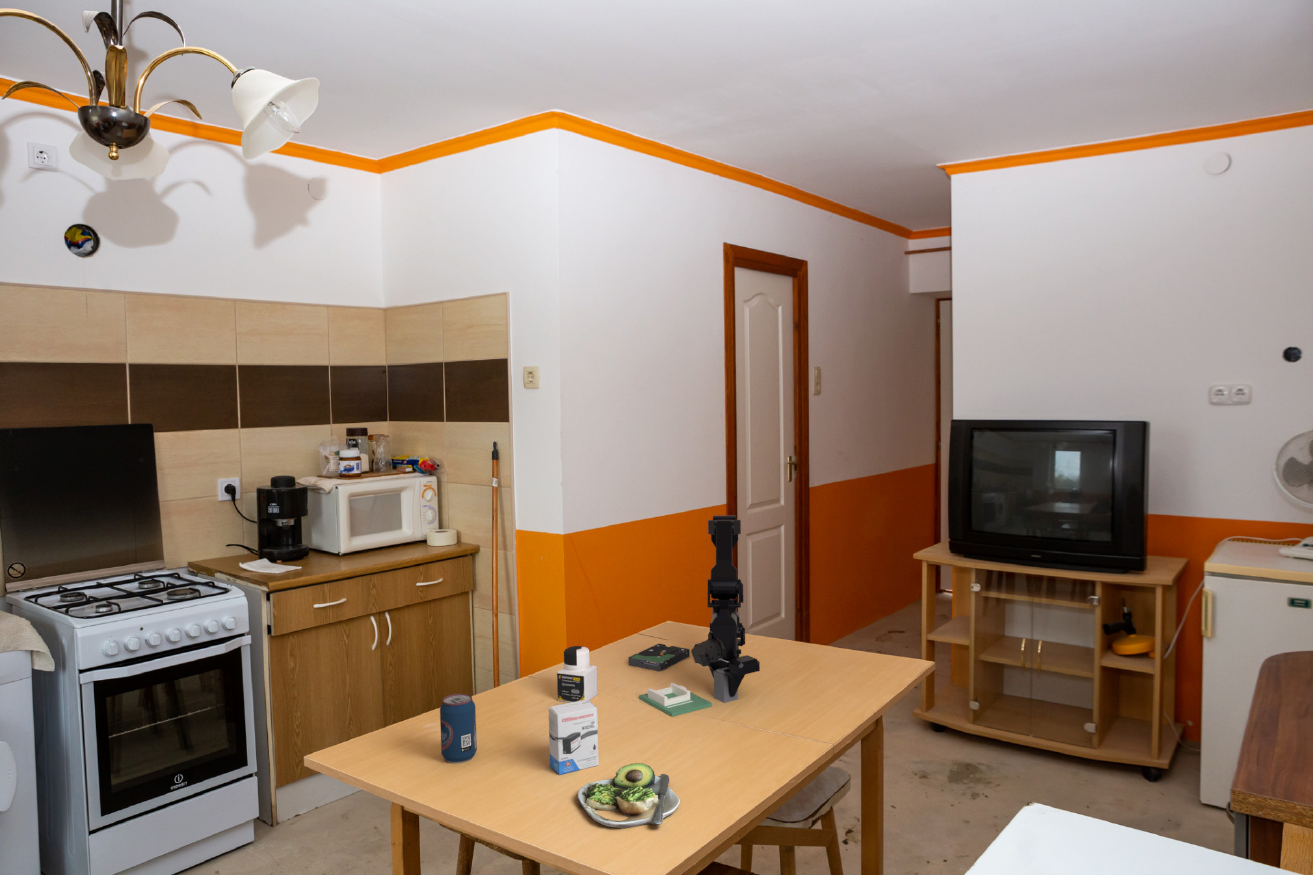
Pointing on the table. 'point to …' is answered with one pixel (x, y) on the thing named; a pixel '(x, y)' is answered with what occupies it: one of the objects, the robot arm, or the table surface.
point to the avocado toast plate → (630, 797)
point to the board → (674, 700)
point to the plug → (722, 686)
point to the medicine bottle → (577, 676)
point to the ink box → (573, 736)
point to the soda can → (458, 728)
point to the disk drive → (659, 657)
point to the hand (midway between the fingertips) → (725, 693)
